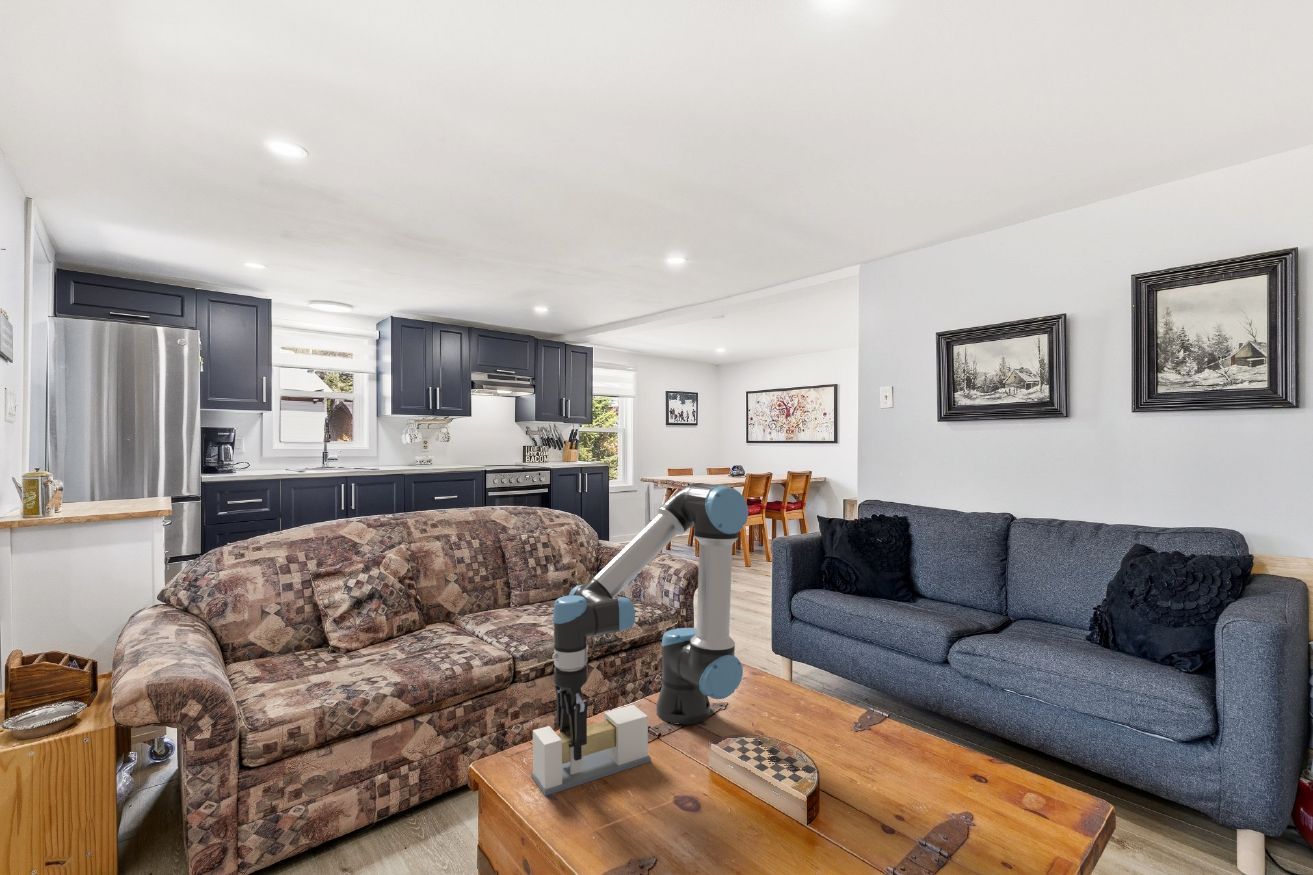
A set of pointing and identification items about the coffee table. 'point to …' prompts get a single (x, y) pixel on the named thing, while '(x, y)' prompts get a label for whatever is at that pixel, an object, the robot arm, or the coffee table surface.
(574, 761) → the robot arm
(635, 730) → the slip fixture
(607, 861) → the coffee table surface
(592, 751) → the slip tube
